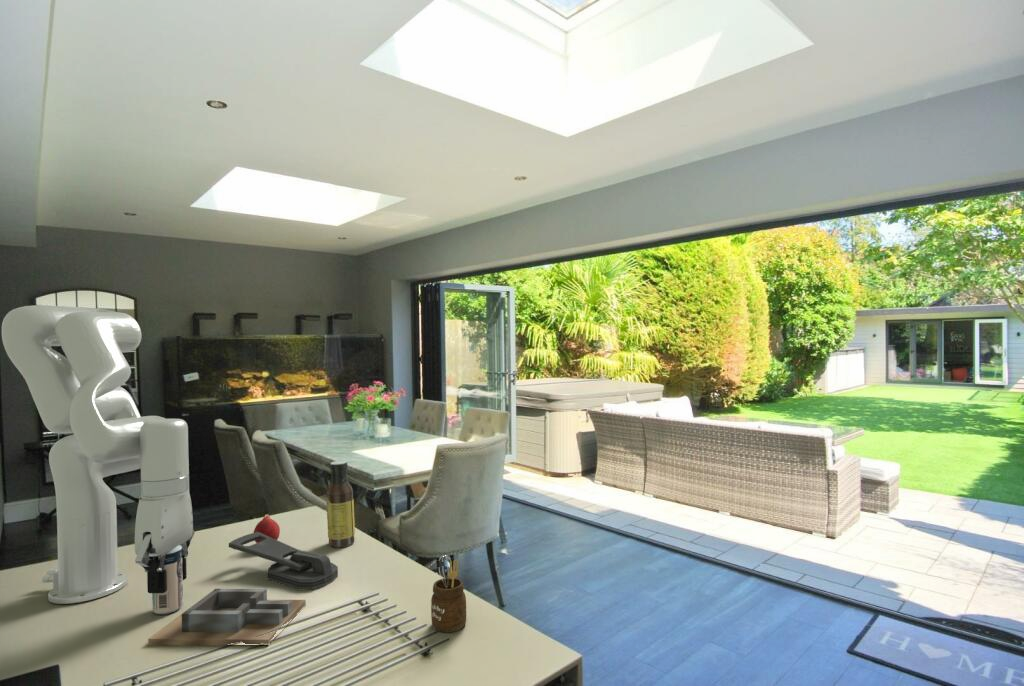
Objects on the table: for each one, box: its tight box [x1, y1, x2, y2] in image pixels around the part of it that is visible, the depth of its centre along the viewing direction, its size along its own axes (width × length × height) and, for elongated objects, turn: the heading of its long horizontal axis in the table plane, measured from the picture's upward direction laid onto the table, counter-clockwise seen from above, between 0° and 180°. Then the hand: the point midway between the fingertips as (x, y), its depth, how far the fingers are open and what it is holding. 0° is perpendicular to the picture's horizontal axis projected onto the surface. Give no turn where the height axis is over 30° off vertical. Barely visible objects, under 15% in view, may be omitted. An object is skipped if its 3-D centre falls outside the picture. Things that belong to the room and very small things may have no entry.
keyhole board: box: [147, 588, 307, 647], centre depth 97 cm, size 20×14×4 cm
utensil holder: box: [430, 555, 467, 633], centre depth 95 cm, size 6×6×12 cm
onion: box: [252, 514, 281, 544], centre depth 134 cm, size 6×6×8 cm
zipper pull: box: [228, 532, 339, 591], centre depth 118 cm, size 9×7×25 cm
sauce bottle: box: [326, 460, 356, 548], centre depth 136 cm, size 6×6×20 cm
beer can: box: [151, 545, 184, 616], centre depth 103 cm, size 5×5×12 cm
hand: (167, 584), depth 103 cm, fingers closed on beer can, 4 cm apart
